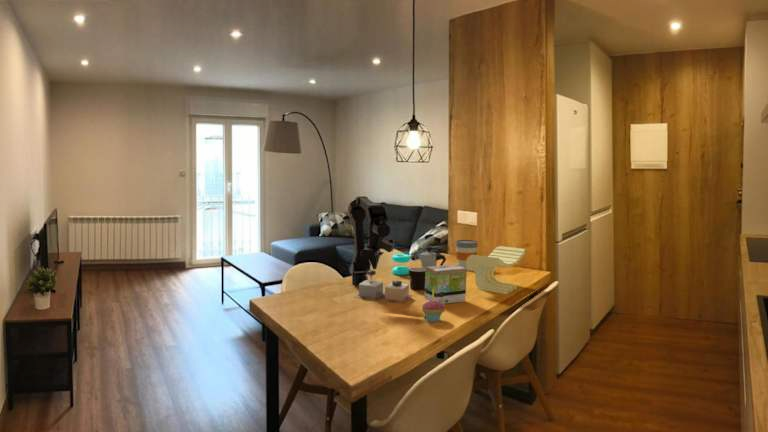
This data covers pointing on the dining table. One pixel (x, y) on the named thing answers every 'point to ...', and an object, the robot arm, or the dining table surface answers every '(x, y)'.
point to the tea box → (445, 283)
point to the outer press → (396, 292)
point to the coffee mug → (417, 278)
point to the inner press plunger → (371, 272)
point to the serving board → (382, 298)
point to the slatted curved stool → (487, 264)
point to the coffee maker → (430, 258)
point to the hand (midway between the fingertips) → (374, 269)
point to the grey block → (370, 289)
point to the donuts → (401, 259)
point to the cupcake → (433, 309)
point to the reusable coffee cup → (465, 251)
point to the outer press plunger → (397, 283)
